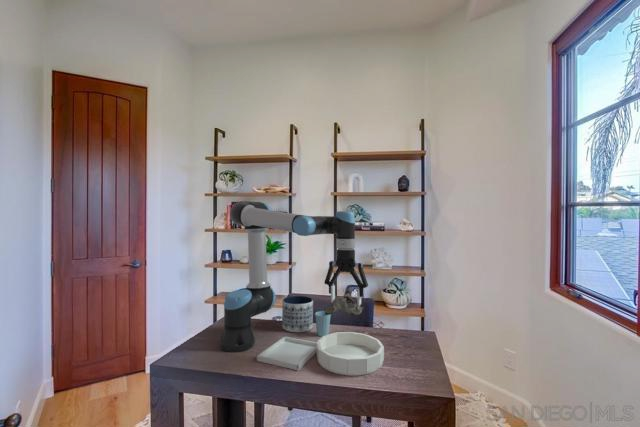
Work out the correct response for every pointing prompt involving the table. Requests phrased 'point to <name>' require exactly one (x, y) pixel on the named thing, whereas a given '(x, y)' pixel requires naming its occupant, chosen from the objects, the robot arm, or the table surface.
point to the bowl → (350, 353)
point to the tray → (289, 353)
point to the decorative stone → (344, 305)
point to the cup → (322, 323)
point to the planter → (297, 313)
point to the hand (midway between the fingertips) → (345, 303)
